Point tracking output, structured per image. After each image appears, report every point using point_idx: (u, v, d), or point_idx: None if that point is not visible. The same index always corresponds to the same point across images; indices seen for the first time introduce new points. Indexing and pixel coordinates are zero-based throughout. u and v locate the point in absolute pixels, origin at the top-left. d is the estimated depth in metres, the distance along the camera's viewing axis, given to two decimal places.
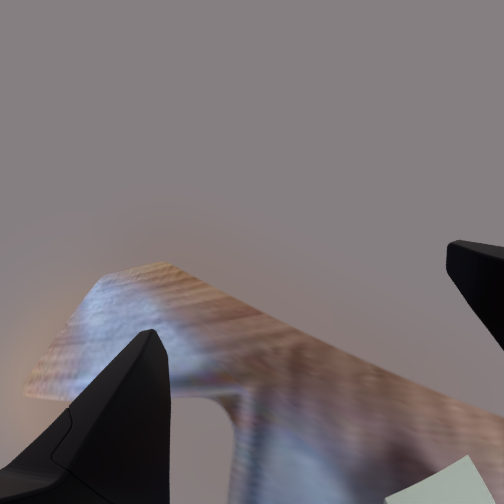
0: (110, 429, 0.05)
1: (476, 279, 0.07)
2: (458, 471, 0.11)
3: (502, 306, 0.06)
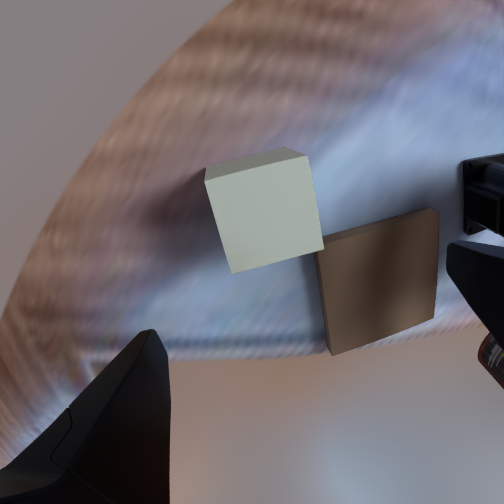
0: (110, 429, 0.05)
1: (476, 279, 0.07)
2: (222, 196, 0.15)
3: (502, 306, 0.06)
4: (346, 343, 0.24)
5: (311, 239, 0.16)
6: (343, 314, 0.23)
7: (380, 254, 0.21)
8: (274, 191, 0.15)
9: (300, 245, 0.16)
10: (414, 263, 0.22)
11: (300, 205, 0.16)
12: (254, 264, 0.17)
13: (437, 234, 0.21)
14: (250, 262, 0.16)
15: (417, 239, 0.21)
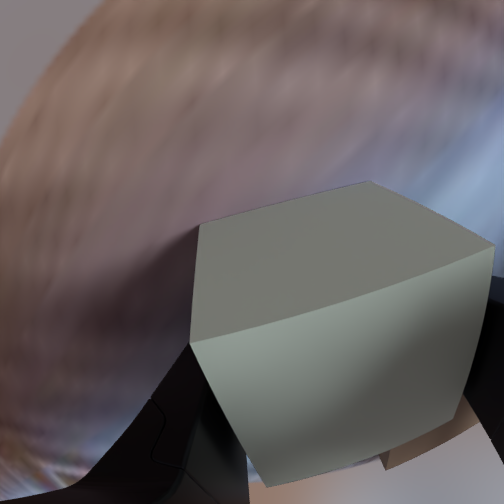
0: (208, 417, 0.05)
1: None
2: (252, 382, 0.04)
3: None
4: (407, 455, 0.14)
5: (439, 413, 0.06)
6: None
7: None
8: (404, 348, 0.05)
9: (417, 428, 0.06)
10: None
11: (446, 364, 0.05)
12: (317, 472, 0.06)
13: None
14: (309, 471, 0.06)
15: None
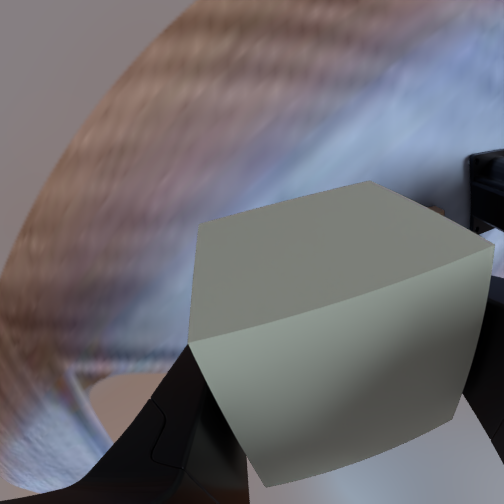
0: (208, 417, 0.05)
1: None
2: (251, 381, 0.04)
3: None
4: None
5: (439, 413, 0.06)
6: None
7: None
8: (402, 348, 0.05)
9: (416, 428, 0.06)
10: None
11: (445, 364, 0.05)
12: (316, 472, 0.06)
13: None
14: (308, 471, 0.06)
15: None
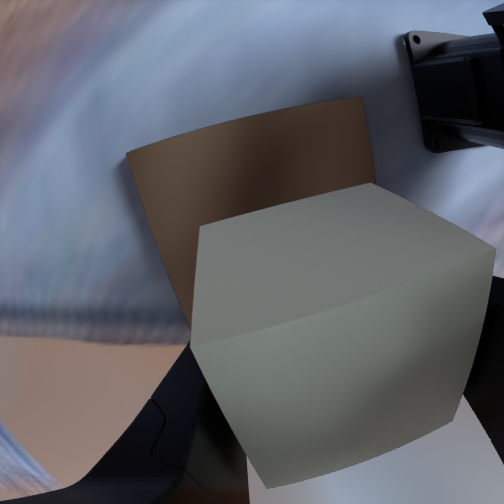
0: (209, 417, 0.05)
1: None
2: (253, 385, 0.04)
3: None
4: None
5: (439, 415, 0.06)
6: None
7: (249, 166, 0.13)
8: (404, 351, 0.05)
9: (417, 429, 0.06)
10: (326, 187, 0.13)
11: (446, 367, 0.05)
12: (317, 473, 0.06)
13: (366, 137, 0.13)
14: (309, 472, 0.06)
15: (324, 142, 0.12)
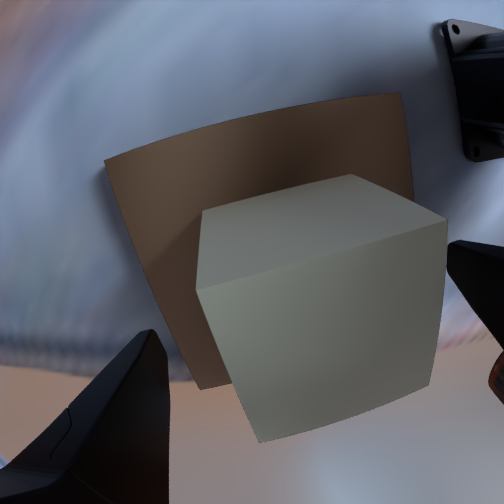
0: (109, 429, 0.05)
1: (476, 279, 0.07)
2: (245, 326, 0.06)
3: (502, 306, 0.06)
4: (223, 369, 0.13)
5: (414, 376, 0.07)
6: (198, 313, 0.11)
7: (262, 177, 0.10)
8: (370, 304, 0.06)
9: (393, 389, 0.07)
10: None
11: (413, 325, 0.06)
12: (304, 428, 0.07)
13: (405, 142, 0.10)
14: (297, 426, 0.07)
15: (356, 147, 0.10)
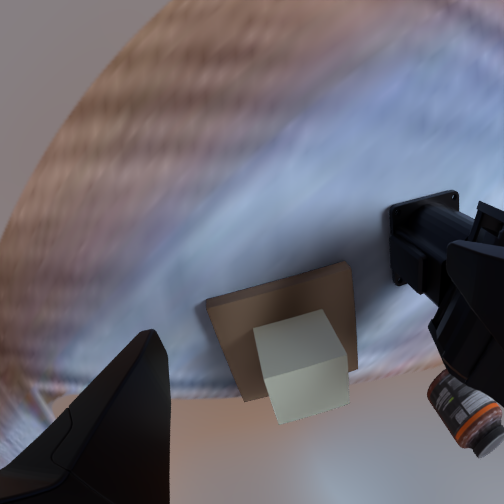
0: (110, 429, 0.05)
1: (476, 279, 0.07)
2: (277, 387, 0.18)
3: (502, 306, 0.06)
4: (257, 391, 0.24)
5: (341, 400, 0.19)
6: (247, 367, 0.23)
7: (280, 314, 0.22)
8: (318, 379, 0.18)
9: (332, 404, 0.19)
10: None
11: (336, 384, 0.18)
12: (296, 418, 0.19)
13: (351, 291, 0.22)
14: (293, 417, 0.19)
15: (325, 297, 0.22)
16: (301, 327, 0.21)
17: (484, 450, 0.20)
